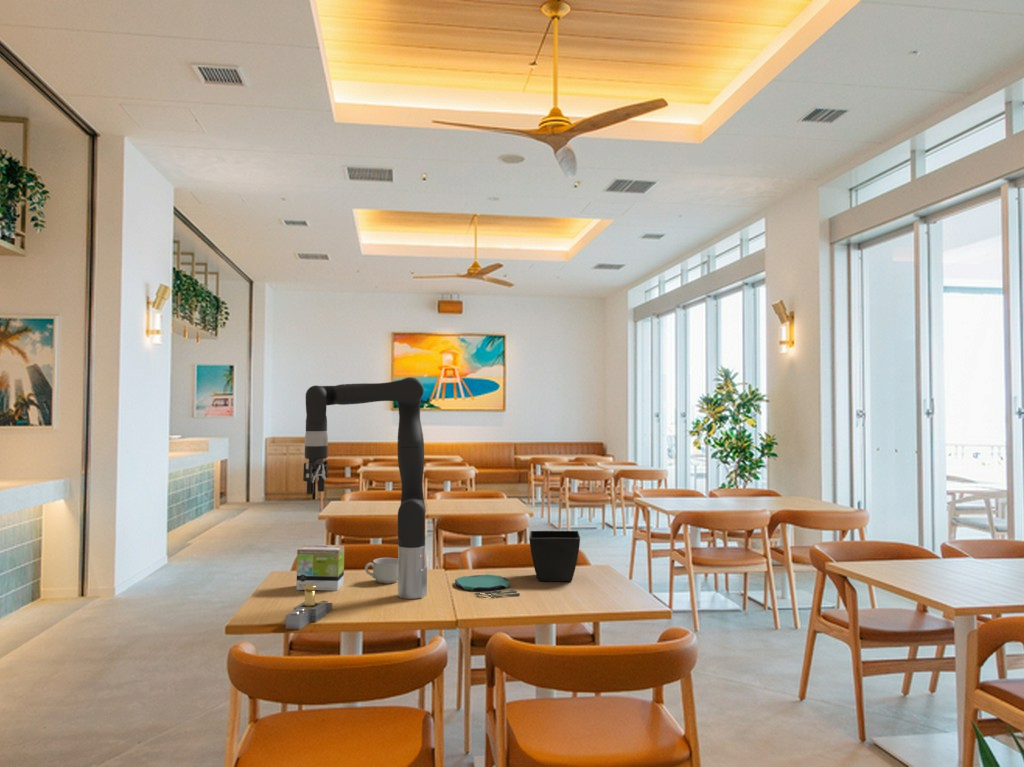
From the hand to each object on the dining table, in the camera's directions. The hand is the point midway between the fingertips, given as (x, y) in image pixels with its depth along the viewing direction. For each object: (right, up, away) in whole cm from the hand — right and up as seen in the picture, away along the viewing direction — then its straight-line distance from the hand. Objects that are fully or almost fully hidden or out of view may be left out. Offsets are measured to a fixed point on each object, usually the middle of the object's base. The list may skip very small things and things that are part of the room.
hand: (315, 492), depth 259 cm
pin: (+4, -35, -23) cm, 43 cm away
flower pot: (+82, -38, +34) cm, 97 cm away
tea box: (-3, -37, +17) cm, 41 cm away
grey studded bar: (+4, -35, -23) cm, 43 cm away
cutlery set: (+57, -38, +17) cm, 70 cm away
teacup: (+18, -37, +27) cm, 50 cm away
